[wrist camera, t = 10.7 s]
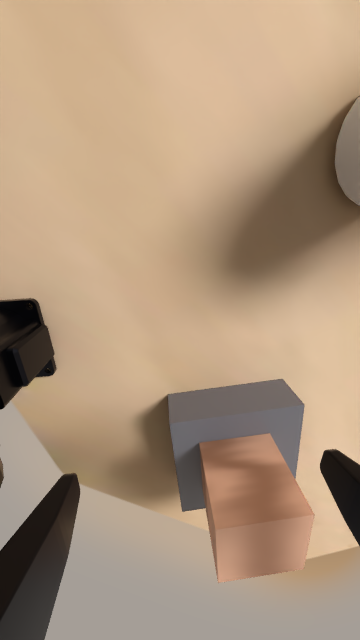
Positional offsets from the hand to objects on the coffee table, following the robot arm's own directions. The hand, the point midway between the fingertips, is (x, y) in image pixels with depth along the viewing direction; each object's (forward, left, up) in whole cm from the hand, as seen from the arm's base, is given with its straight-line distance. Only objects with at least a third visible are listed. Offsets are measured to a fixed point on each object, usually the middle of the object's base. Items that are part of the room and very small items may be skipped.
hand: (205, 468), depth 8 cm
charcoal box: (+4, -11, -12) cm, 17 cm away
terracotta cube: (+4, -11, -8) cm, 15 cm away
